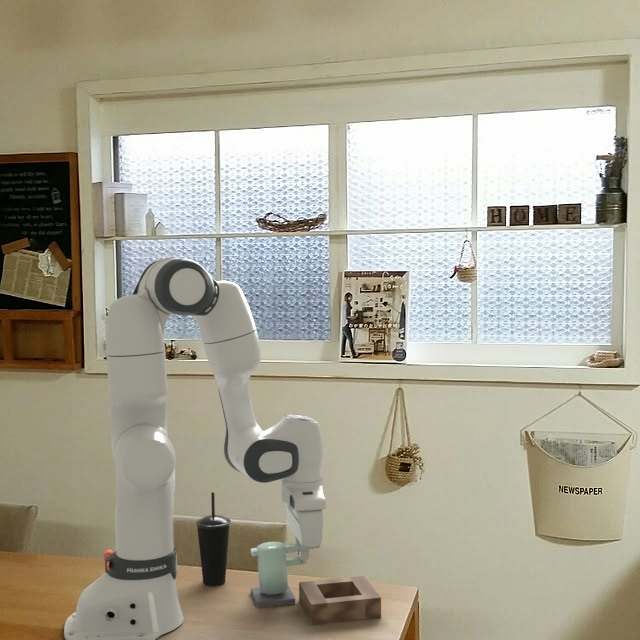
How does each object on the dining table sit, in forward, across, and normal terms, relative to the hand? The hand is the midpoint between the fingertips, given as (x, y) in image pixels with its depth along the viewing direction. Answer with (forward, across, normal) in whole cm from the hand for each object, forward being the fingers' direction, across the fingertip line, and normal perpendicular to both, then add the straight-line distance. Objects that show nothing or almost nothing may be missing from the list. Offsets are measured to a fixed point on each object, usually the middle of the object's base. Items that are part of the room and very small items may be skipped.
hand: (302, 556), depth 174 cm
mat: (+8, 0, -6) cm, 11 cm away
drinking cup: (+8, -12, -17) cm, 23 cm away
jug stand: (+8, +9, +6) cm, 13 cm away
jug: (+6, 0, -5) cm, 8 cm away
